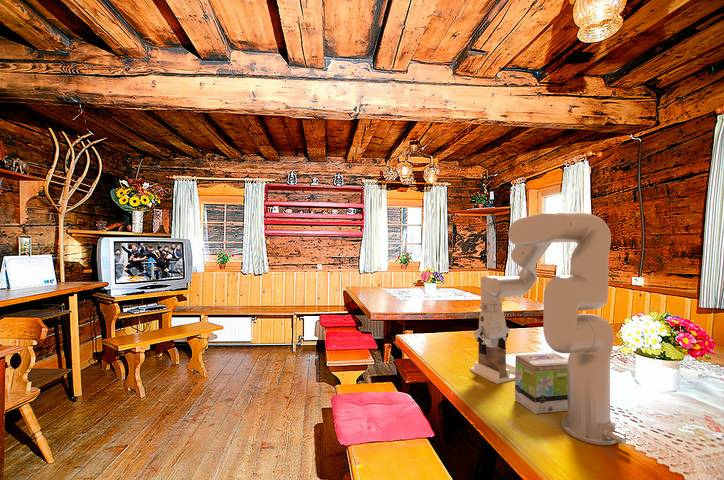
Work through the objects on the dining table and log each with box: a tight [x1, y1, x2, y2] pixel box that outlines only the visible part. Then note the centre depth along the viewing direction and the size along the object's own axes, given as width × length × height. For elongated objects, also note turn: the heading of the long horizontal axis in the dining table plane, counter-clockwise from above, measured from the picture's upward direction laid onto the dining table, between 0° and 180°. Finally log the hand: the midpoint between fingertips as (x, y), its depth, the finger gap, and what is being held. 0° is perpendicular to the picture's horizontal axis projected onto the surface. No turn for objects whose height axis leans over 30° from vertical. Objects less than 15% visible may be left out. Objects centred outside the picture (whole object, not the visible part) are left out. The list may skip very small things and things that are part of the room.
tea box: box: [514, 352, 568, 415], centre depth 104 cm, size 15×10×15 cm
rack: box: [469, 361, 516, 385], centre depth 129 cm, size 14×14×4 cm
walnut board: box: [477, 342, 507, 378], centre depth 128 cm, size 11×3×10 cm, turn 23°
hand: (492, 352), depth 127 cm, fingers open, 9 cm apart
